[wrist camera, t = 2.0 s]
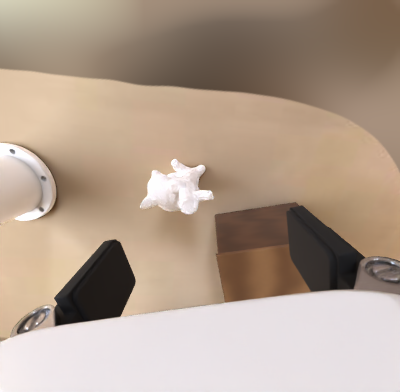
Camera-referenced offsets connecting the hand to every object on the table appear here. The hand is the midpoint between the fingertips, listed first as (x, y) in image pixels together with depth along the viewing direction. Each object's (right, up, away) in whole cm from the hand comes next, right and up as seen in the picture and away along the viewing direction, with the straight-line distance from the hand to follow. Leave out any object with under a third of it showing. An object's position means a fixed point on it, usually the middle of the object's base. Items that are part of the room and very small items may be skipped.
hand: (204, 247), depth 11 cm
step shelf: (+11, -9, +25) cm, 28 cm away
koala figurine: (-2, +6, +20) cm, 21 cm away
